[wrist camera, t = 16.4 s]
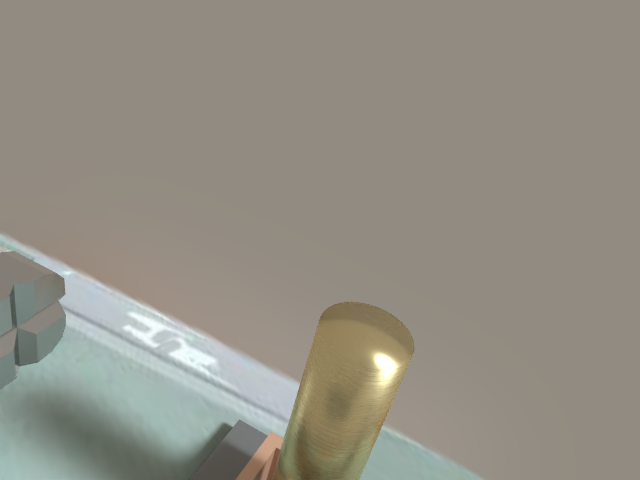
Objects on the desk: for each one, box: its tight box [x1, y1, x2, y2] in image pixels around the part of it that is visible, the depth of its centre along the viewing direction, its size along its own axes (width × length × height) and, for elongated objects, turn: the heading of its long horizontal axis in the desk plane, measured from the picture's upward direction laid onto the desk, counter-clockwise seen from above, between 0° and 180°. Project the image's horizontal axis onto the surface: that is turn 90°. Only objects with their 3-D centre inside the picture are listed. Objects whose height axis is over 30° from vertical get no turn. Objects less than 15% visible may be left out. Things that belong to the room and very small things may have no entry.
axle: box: [271, 302, 414, 480], centre depth 27 cm, size 4×4×16 cm
